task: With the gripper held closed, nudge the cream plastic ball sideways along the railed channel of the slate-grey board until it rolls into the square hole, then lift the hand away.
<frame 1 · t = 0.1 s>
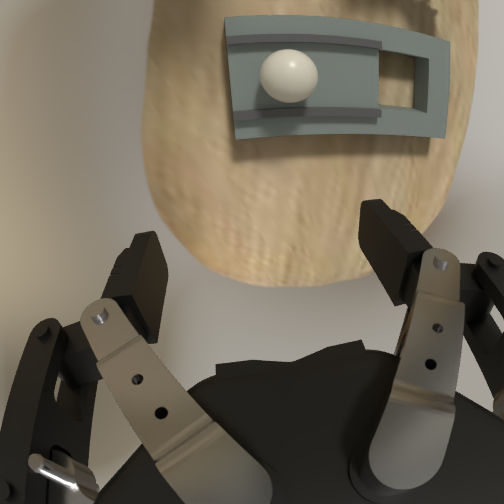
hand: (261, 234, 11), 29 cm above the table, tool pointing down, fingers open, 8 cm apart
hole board: (346, 74, 33), on the table
plastic ball: (289, 75, 27), point 6 cm above the table, touching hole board
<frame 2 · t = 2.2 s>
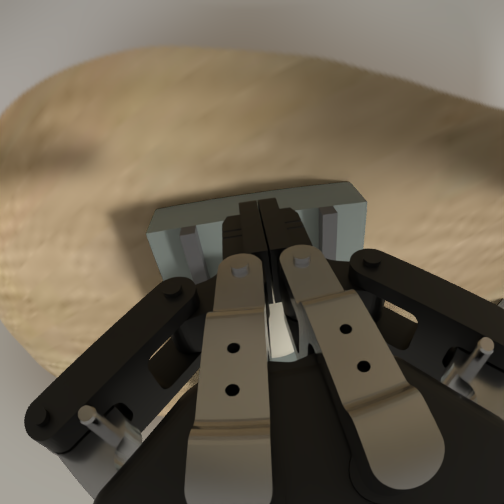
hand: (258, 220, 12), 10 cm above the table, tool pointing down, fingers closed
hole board: (270, 326, 31), on the table
medicine box: (500, 311, 37), on the table
plastic ball: (271, 314, 20), point 6 cm above the table, touching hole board
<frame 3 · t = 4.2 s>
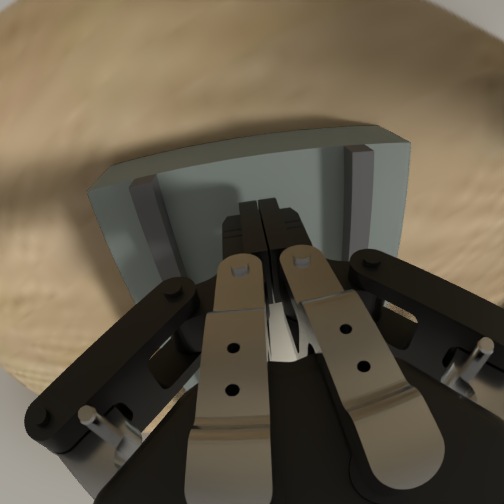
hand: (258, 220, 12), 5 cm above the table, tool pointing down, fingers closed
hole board: (272, 330, 23), on the table
plastic ball: (274, 320, 13), point 6 cm above the table, tilted 9°, touching gripper, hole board
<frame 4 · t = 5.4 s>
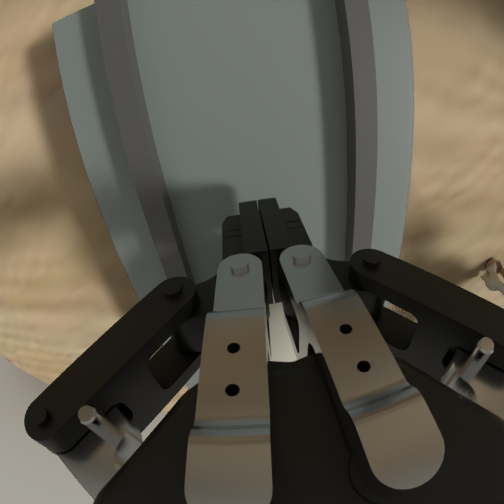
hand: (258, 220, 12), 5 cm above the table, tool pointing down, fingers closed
unicorn figurine: (468, 273, 23), on the table
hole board: (264, 243, 19), on the table
plastic ball: (275, 318, 13), point 6 cm above the table, tilted 117°, touching gripper, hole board
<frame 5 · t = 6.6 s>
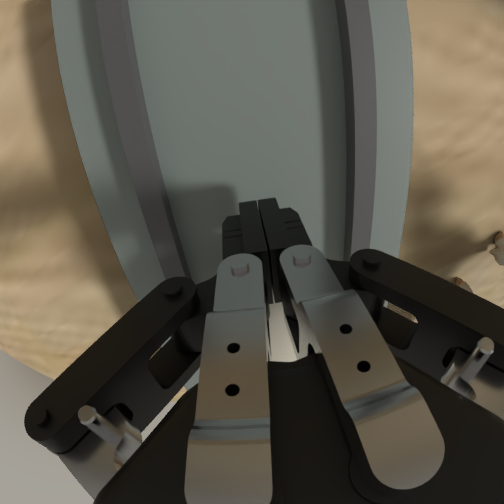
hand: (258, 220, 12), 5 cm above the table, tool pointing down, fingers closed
unicorn figurine: (476, 246, 21), on the table
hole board: (256, 195, 17), on the table
plastic ball: (273, 318, 13), point 6 cm above the table, tilted 150°, touching gripper, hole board
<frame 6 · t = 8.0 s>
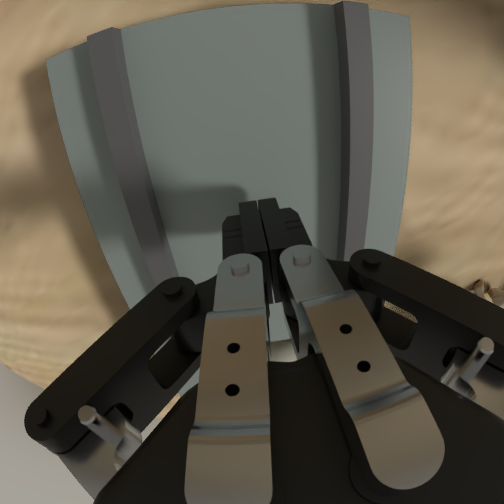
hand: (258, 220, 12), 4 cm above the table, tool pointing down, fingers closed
unicorn figurine: (456, 294, 24), on the table
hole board: (257, 271, 20), on the table
plastic ball: (274, 374, 22), point 3 cm above the table, tilted 92°
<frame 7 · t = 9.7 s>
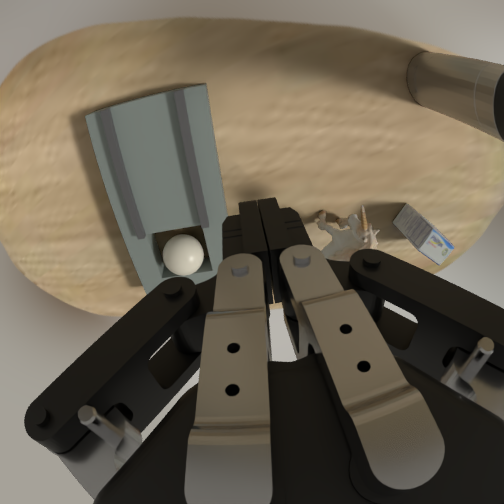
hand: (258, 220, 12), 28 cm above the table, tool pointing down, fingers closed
unicorn figurine: (305, 219, 46), on the table
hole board: (171, 198, 41), on the table
medicine box: (410, 220, 48), on the table
plastic ball: (183, 254, 43), point 3 cm above the table, tilted 97°
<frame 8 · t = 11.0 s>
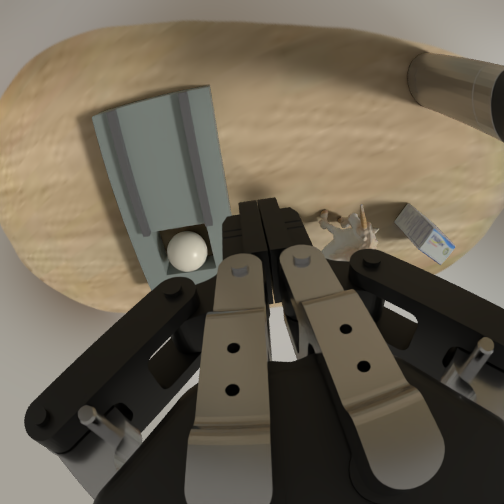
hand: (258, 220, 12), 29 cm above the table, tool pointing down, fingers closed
unicorn figurine: (307, 218, 47), on the table
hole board: (175, 197, 42), on the table
medicine box: (412, 220, 48), on the table
plastic ball: (187, 251, 44), point 3 cm above the table, tilted 101°
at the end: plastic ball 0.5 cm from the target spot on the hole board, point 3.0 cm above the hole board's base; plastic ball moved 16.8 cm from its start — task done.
